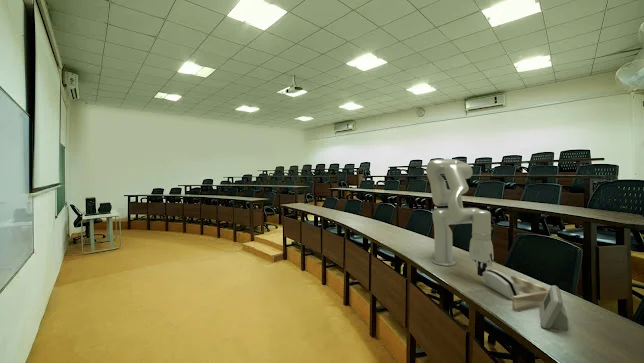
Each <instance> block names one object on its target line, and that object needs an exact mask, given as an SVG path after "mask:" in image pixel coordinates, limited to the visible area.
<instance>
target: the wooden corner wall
mask: <svg viewBox="0 0 644 363" xmlns="http://www.w3.org/2000/svg"><path fill="white" fill-rule="evenodd" d="M510 279H511V280H513V281H514V283H515V285H516V287H517V290H518V291H520V292H522V293H524V294H521V295H517V296H512V300H511V301H512V310H513V311H515V312H518V311H519V312H520V311H524V310H529V309H535V308H540V306H541V304H542V302H543V300H544V298H545V296H546V295H547V293H548V291H549V289H550V288H548V287H545V286H542V285H540V284H537V283H536V282H535V283H534V282H532V281H529V280H526V279H525V278H524V279H523V278H522V277H519V276H516V275H510Z"/></svg>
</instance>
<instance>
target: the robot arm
mask: <svg viewBox="0 0 644 363" xmlns="http://www.w3.org/2000/svg"><path fill="white" fill-rule="evenodd" d="M425 173H426V176H427V179H428V182H429V184H430V190H431V191H430V192H431V198H432V202H433V204H434V205H435V206H437V207H440V208H436V209H434V210H433V212H432V214H431V215H432V221H433V222H432V223H433V228H434V229H433V231H434V232H433V233H434V236H433V237H434V241H433V242H434V251H433V252H432V253H431V256H433V258H432V259H431V262H432V263H433V264H435V265H438V266H442V267H443V266H444V267H450V266H451V267H452V266H455V265H456V261H455V259H453V254H454V253H453V231H452V229H451V227H450V225H461V224H472V225H471V226H472V227H471V228H472V229H471V230H472V232H471V236H472V237H471V238H470V240H469V247H468V248H469V249H468V250H469V252H468V256H469V259H471V260H472V261H473V262H475V266H476V269H477V274H476V275H477V276H479V277H483V272H484V271H487V269H486V268H488V267H493V263H494V245H493V242H492V230H491V229H492V223H491V222H492V218H491V217H492V213H491V212H490V210H489V211H488V210H486V209H480V208H478V207H464V206H463V205H464V204H463V199H462V198H463V197H462V195H464V194H466V193H467V192H468V191H469V189H470V188H469V185H468V183H467V179H470V178H472V176H473V173H474V172H473V168H472V167H471V165H470V164H468V163H466V162H464V161H461V160H459V159H454V158H453V159H452V158H451V159H449V158H448V159H447V158H445V159H444V158H442V159H441V158H440V159H431V160H430V161H429V162H428V163H427V165H426V172H425ZM443 174H444V176H445V179H446V180H445V179H444V177H443V176H441V175H443ZM447 184H448V187H449V189H448V187H447ZM446 206H447V207H446ZM441 207H442V208H441Z"/></svg>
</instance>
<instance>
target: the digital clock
mask: <svg viewBox="0 0 644 363" xmlns="http://www.w3.org/2000/svg"><path fill="white" fill-rule="evenodd" d="M548 289H549V291H548V293H547V295H546V296H545V298H544V300H543V302H542V304H541V306H540V307H539V318H540V319H539V320H540V322H539V323H540V325H541V326H542V328H543V329H550V328H554V329H555V328H556V329H560V330H563V331H568V330H569V329H568V328H569V327H568V324H569V322H568V320H569V319H568V315H567V310H566V308H565V306H564V301H563V297H562V293H561V290H560V288H559V287H558V286H557V285H554V284H553V285H551V286H550V287H549V288H548Z"/></svg>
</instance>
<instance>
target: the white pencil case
mask: <svg viewBox="0 0 644 363" xmlns="http://www.w3.org/2000/svg"><path fill="white" fill-rule="evenodd" d="M482 277H483V280H484V284H485V286H487V287H489V288H491V289H493V290H494V291H496V292H498V293H500V294H501V295H503V296H504V297H507V298H508V299H510V300H511V301H512V296H517V295H522V294H520V292H519V290H518V289H517V287H516V285H515V283H514V281H513V280H511V277H509V276H508V275H506V274H504V273H503V272H501V271H499V270H496V269H494V268H493V269H491V268H489V269H486V271H484V272H483V276H482Z"/></svg>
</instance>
